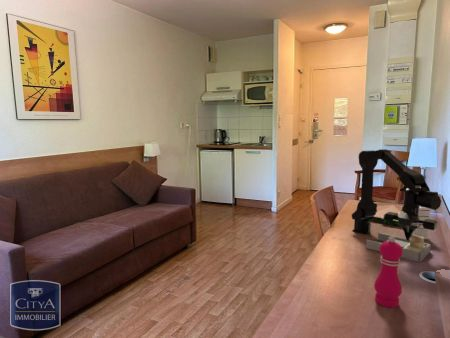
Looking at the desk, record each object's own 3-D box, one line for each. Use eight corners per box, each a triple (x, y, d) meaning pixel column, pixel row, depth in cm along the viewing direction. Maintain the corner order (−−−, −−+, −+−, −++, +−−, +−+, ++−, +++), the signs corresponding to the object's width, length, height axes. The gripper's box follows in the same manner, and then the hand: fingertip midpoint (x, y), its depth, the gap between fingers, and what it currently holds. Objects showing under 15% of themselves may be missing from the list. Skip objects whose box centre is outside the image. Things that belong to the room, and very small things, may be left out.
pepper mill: (368, 295, 99) (373, 232, 96) (391, 295, 100) (396, 232, 97) (381, 309, 92) (387, 241, 89) (406, 308, 92) (412, 240, 90)
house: (364, 222, 175) (365, 207, 174) (376, 209, 202) (377, 196, 201) (413, 230, 162) (415, 214, 161) (419, 215, 189) (420, 202, 188)
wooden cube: (409, 246, 133) (410, 236, 133) (412, 243, 136) (413, 234, 135) (420, 249, 130) (421, 239, 130) (423, 246, 133) (424, 237, 133)
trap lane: (366, 247, 138) (366, 239, 137) (378, 239, 148) (378, 232, 147) (420, 262, 124) (421, 253, 123) (429, 252, 134) (430, 244, 133)
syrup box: (428, 239, 149) (431, 208, 147) (414, 238, 150) (417, 207, 148) (423, 235, 154) (426, 205, 152) (409, 234, 156) (412, 204, 154)
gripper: (380, 202, 134) (377, 239, 136) (432, 212, 121) (428, 252, 123) (389, 198, 142) (386, 233, 144) (439, 206, 129) (435, 244, 131)
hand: (407, 240), depth 135 cm, fingers closed
